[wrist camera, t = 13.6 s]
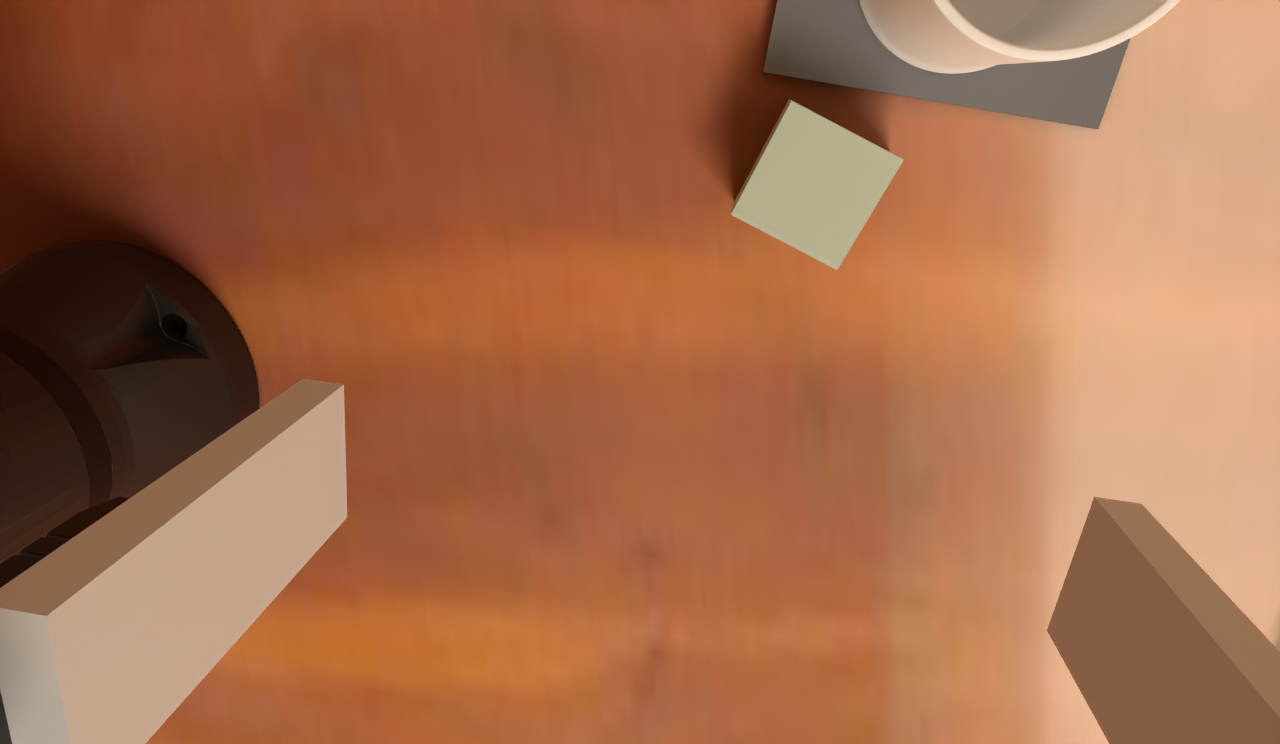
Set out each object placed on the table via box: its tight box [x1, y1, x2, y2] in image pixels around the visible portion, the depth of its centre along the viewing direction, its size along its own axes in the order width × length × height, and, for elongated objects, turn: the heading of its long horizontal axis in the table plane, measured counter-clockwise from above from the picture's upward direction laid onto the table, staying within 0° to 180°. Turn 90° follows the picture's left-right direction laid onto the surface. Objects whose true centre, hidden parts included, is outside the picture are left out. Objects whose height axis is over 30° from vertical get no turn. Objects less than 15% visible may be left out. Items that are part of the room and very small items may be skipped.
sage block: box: [731, 99, 903, 270], centre depth 34 cm, size 5×5×4 cm
